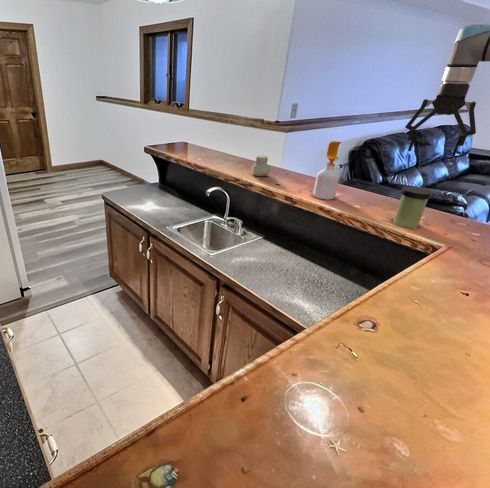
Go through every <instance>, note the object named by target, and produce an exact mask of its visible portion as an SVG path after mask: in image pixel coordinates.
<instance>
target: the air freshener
mask: <svg viewBox="0 0 490 488" xmlns="http://www.w3.org/2000/svg"><path fill="white" fill-rule="evenodd" d="M268 158H269V156H267V155H261V154H260V155H257V156H256V157H255V163H254V164H251V167H250V169H251V170H250V172H251V174H252V175H253V176H255V177H266V176H268V175H269V174H270V172H271V169H270V166H269V164H268V161H269V160H268Z"/></svg>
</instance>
